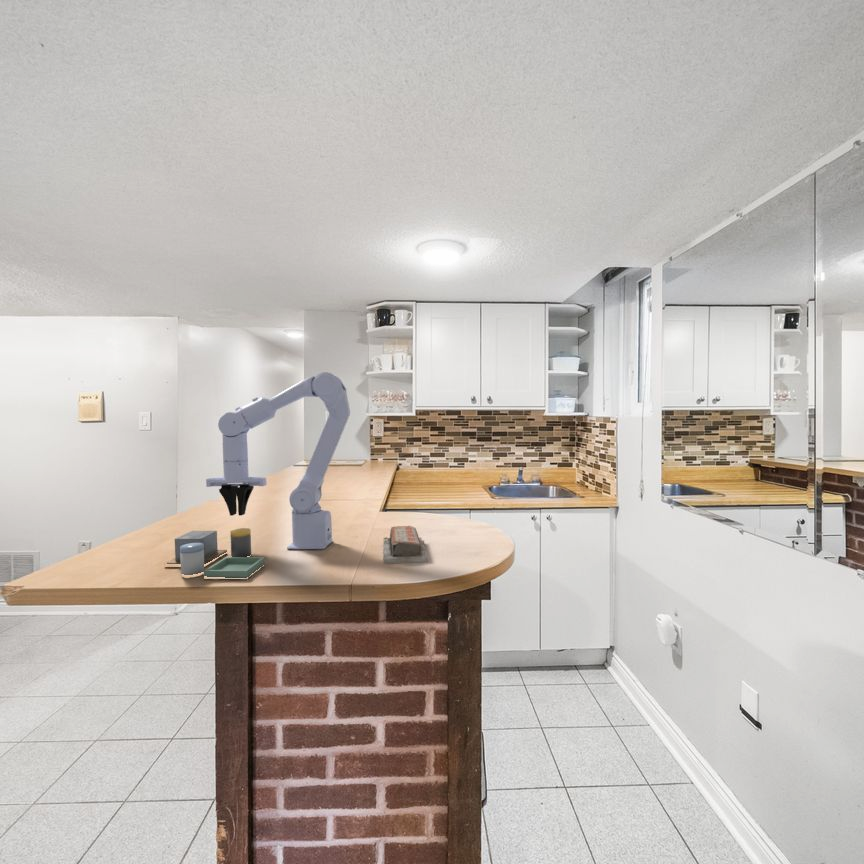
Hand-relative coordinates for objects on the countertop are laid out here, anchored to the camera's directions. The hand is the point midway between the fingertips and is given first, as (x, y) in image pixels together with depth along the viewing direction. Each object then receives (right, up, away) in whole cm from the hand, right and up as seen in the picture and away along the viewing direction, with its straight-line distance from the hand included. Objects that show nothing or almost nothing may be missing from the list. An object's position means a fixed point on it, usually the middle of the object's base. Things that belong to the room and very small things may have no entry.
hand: (237, 514), depth 116 cm
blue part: (-1, -9, -19) cm, 21 cm away
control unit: (-5, -9, -9) cm, 14 cm away
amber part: (+4, -9, -7) cm, 12 cm away
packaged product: (+42, -9, -5) cm, 43 cm away
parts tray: (+7, -9, -18) cm, 21 cm away
